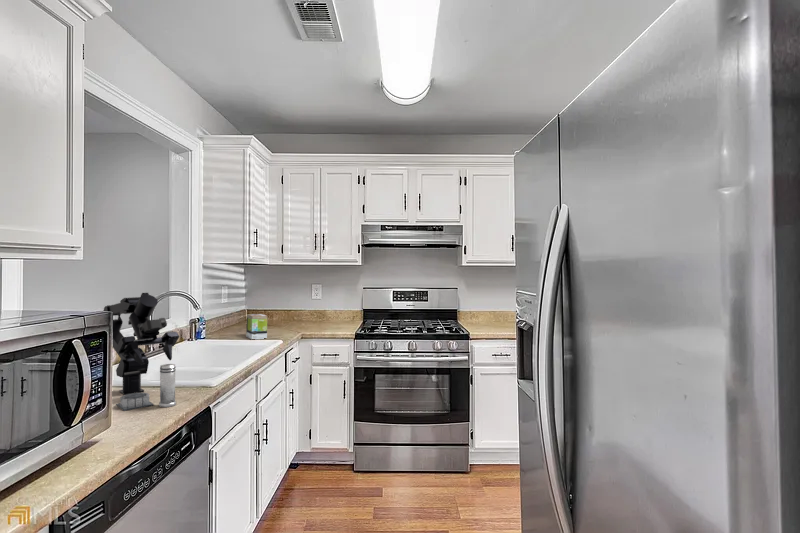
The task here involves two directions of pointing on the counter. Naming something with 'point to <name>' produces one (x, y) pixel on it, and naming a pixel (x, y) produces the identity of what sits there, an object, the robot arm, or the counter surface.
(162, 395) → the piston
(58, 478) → the counter surface
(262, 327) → the tea box
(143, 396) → the sleeve
